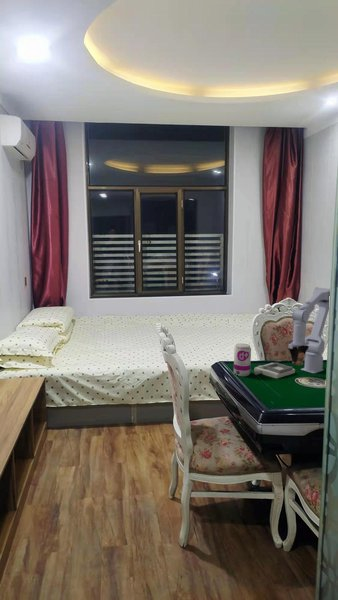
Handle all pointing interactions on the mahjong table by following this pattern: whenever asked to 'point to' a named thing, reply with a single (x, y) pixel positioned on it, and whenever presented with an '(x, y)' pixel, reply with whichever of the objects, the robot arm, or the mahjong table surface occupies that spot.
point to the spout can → (299, 358)
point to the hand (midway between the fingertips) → (297, 360)
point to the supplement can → (242, 359)
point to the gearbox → (274, 370)
